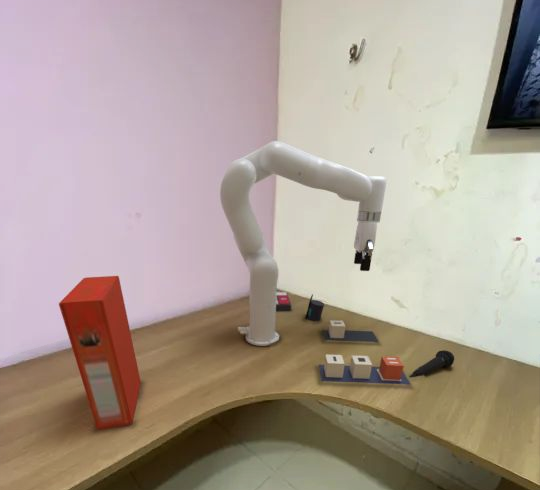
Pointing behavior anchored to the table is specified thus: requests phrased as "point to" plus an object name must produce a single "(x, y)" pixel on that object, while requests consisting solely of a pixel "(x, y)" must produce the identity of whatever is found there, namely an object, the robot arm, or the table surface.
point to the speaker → (314, 310)
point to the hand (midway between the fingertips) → (361, 267)
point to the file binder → (103, 349)
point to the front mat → (374, 378)
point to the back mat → (352, 336)
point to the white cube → (334, 366)
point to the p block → (360, 367)
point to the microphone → (435, 363)
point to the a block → (336, 329)
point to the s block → (391, 368)
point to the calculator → (282, 302)
